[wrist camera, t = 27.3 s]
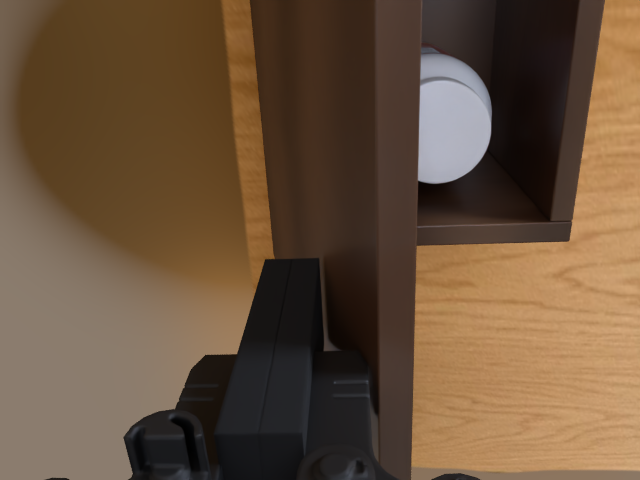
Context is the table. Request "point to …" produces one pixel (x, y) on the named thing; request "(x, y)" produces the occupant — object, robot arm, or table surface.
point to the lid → (349, 180)
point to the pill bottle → (450, 117)
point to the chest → (516, 118)
